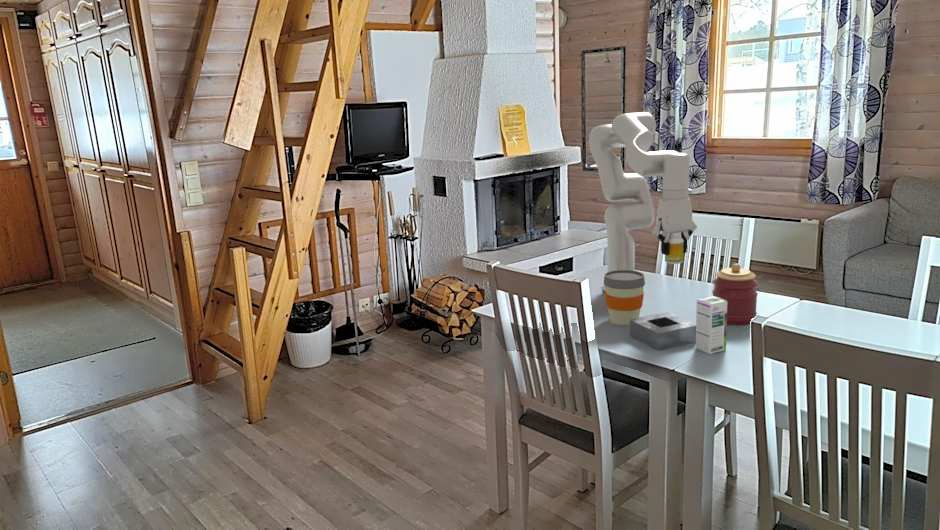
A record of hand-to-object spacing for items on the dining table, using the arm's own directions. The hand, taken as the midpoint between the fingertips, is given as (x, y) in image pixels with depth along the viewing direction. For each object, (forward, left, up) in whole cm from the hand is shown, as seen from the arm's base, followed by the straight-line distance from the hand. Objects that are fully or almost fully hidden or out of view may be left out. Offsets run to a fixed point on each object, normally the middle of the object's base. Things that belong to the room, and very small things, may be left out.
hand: (674, 252), depth 203 cm
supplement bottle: (0, 0, -3) cm, 3 cm away
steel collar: (+12, -13, -21) cm, 28 cm away
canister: (+9, +16, -22) cm, 28 cm away
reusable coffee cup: (-6, -14, -22) cm, 26 cm away
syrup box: (+25, -7, -22) cm, 34 cm away
